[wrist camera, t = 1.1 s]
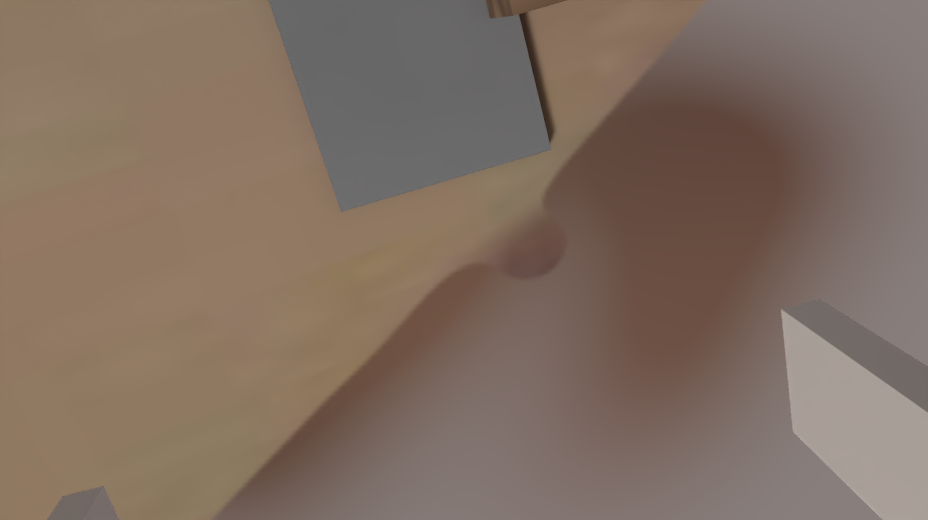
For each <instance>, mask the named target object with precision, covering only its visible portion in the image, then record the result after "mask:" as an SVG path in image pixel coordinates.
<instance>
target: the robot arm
mask: <svg viewBox="0 0 928 520" xmlns="http://www.w3.org/2000/svg"><path fill="white" fill-rule="evenodd" d="M781 313H782V323H783V334H784V344H785V354H786V365H787V375H788V385H789V395H790V405H791V415H792V426H793V432H794V433H795V434H796V435H797V436H798V437H799V438H800V439H801V440H802V441H803V442H804V443H805V444H806V445H807V446H808V447H809V448H810V449H811V450H812V451H813V452H814V453H815V454H816V455H817V456H818V457H820V459H821V460H822V461H823V462H825V464H827V465H828V466H829V467H830V468H831V469H832V470H833V471H834V472H835V473H836V474H837V475H838V476H839V477H840V478H841V479H842V480H843V481H844V482H845V483H846V484H847V485H848V486H849V487H850V488H851V489H852V490H853V491H854V492H855V493H856V494H857V495H858V496H859V497H860V498H861V499H862V500H863V501H864V502H865V503H866V504H867V505H868V506H869V507H870V508H871V509H872V510H873V511H874V512H875V513H876V514H877V515H878V516H879V517H880V518H882V520H928V366H926V365H925V364H923V363H921V362H920V361H918V360H917V359H915V358H913V357H912V356H910V355H909V354H907V353H905V352H904V351H902V350H901V349H899V348H897V347H896V346H894V345H892V344H891V343H889V342H888V341H886V340H884V339H883V338H881V337H879V336H878V335H876V334H875V333H873V332H871V331H870V330H868V329H867V328H865V327H864V326H862V325H860V324H859V323H857V322H855V321H854V320H852V319H851V318H849V317H847V316H846V315H844V314H842V313H841V312H839V311H837V310H836V309H834V308H833V307H831V306H830V305H828V304H826V303H825V302H823V301H822V300H820V299H818V300H814V301H810V302H807V303H803V304H799V305H795V306H792V307H788V308H784V309H781ZM47 520H119V518H118V516H117V514H116V512H115V509H114V507H113V505H112V503H111V501H110V499H109V496H108V494H107V492H106V490H105V488H104V486H101V487H98V488H94V489H90V490H86V491H82V492H78V493H75V494H71V495H67V496H63V497H62V499H61V500H60V501H59V503H58V504H57V506H56V507H55V509H54V510H53V512H52V513H51V515H50V516H49V518H48V519H47Z"/></svg>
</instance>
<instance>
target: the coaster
mask: <svg viewBox="0 0 928 520" xmlns="http://www.w3.org/2000/svg"><path fill="white" fill-rule="evenodd" d="M269 2H270V5H271V8H272V11H273V14H274V17H275V20H276V23H277V26H278V29H279V31H280V34H281V37H282V40H283V43H284V46H285V49H286V52H287V55H288V58H289V61H290V64H291V66H292V69H293V72H294V75H295V78H296V81H297V84H298V87H299V90H300V93H301V96H302V99H303V101H304V104H305V107H306V110H307V113H308V116H309V119H310V122H311V125H312V128H313V131H314V134H315V136H316V139H317V142H318V145H319V148H320V151H321V154H322V157H323V160H324V163H325V166H326V169H327V171H328V174H329V177H330V180H331V183H332V186H333V189H334V192H335V195H336V198H337V201H338V204H339V207H340V209H341V212H342V211H346V210H349V209H352V208H356V207H359V206H362V205H366V204H369V203H373V202H376V201H379V200H383V199H386V198H389V197H393V196H396V195H400V194H403V193H406V192H410V191H413V190H416V189H420V188H423V187H427V186H430V185H433V184H437V183H440V182H443V181H447V180H450V179H454V178H457V177H460V176H464V175H467V174H470V173H474V172H477V171H480V170H484V169H487V168H491V167H494V166H497V165H501V164H504V163H507V162H511V161H514V160H518V159H521V158H524V157H528V156H531V155H534V154H538V153H541V152H545V151H548V150H551V146H550V142H549V138H548V134H547V130H546V126H545V121H544V117H543V113H542V109H541V105H540V100H539V96H538V92H537V88H536V84H535V80H534V75H533V71H532V67H531V63H530V59H529V55H528V50H527V46H526V42H525V38H524V34H523V30H522V25H521V21H520V17H519V14H518V15H514V16H508V17H499V18H491V19H490V16H489V12H488V8H487V4H486V0H269Z"/></svg>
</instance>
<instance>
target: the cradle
mask: <svg viewBox="0 0 928 520" xmlns="http://www.w3.org/2000/svg"><path fill="white" fill-rule="evenodd" d="M562 1H566V0H486V4H487V8H488V12H489V16H490V19H491V18H499V17H508V16H514V15H518V14H521V13H525V12H528V11H531V10H535V9H538V8H542V7H545V6H549V5H552V4H555V3H559V2H562Z"/></svg>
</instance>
